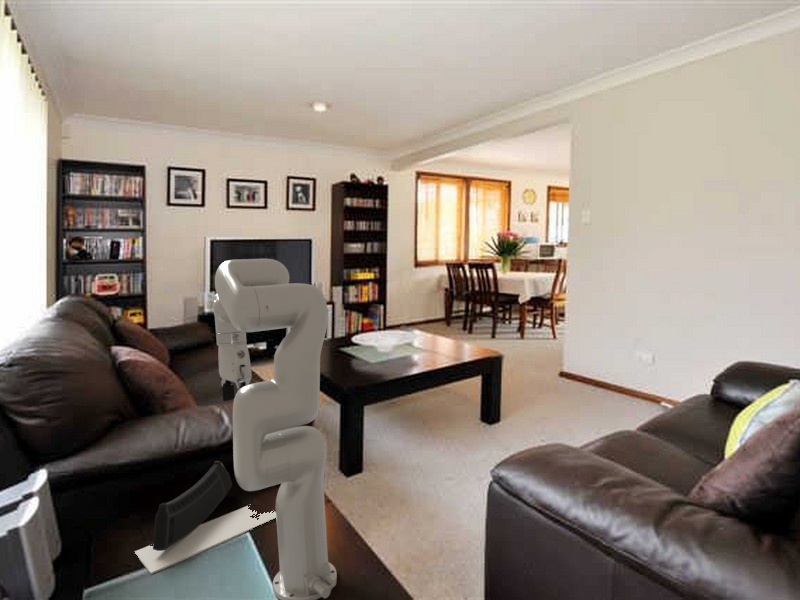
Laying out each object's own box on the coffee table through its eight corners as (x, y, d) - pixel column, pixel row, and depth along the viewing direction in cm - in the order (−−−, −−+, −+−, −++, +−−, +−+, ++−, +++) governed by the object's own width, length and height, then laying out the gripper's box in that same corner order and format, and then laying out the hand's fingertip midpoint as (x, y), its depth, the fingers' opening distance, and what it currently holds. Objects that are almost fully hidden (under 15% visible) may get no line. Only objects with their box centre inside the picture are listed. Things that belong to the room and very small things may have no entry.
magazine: (155, 521, 105) (220, 438, 133) (141, 521, 106) (209, 438, 134) (176, 581, 111) (234, 488, 139) (163, 580, 111) (223, 488, 139)
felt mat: (280, 516, 124) (280, 515, 124) (151, 574, 103) (150, 572, 103) (258, 502, 133) (258, 501, 133) (134, 553, 111) (134, 551, 111)
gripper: (260, 338, 126) (265, 404, 128) (230, 334, 139) (234, 394, 140) (233, 342, 121) (238, 411, 122) (204, 338, 134) (208, 400, 135)
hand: (236, 402), depth 131 cm, fingers open, 8 cm apart
